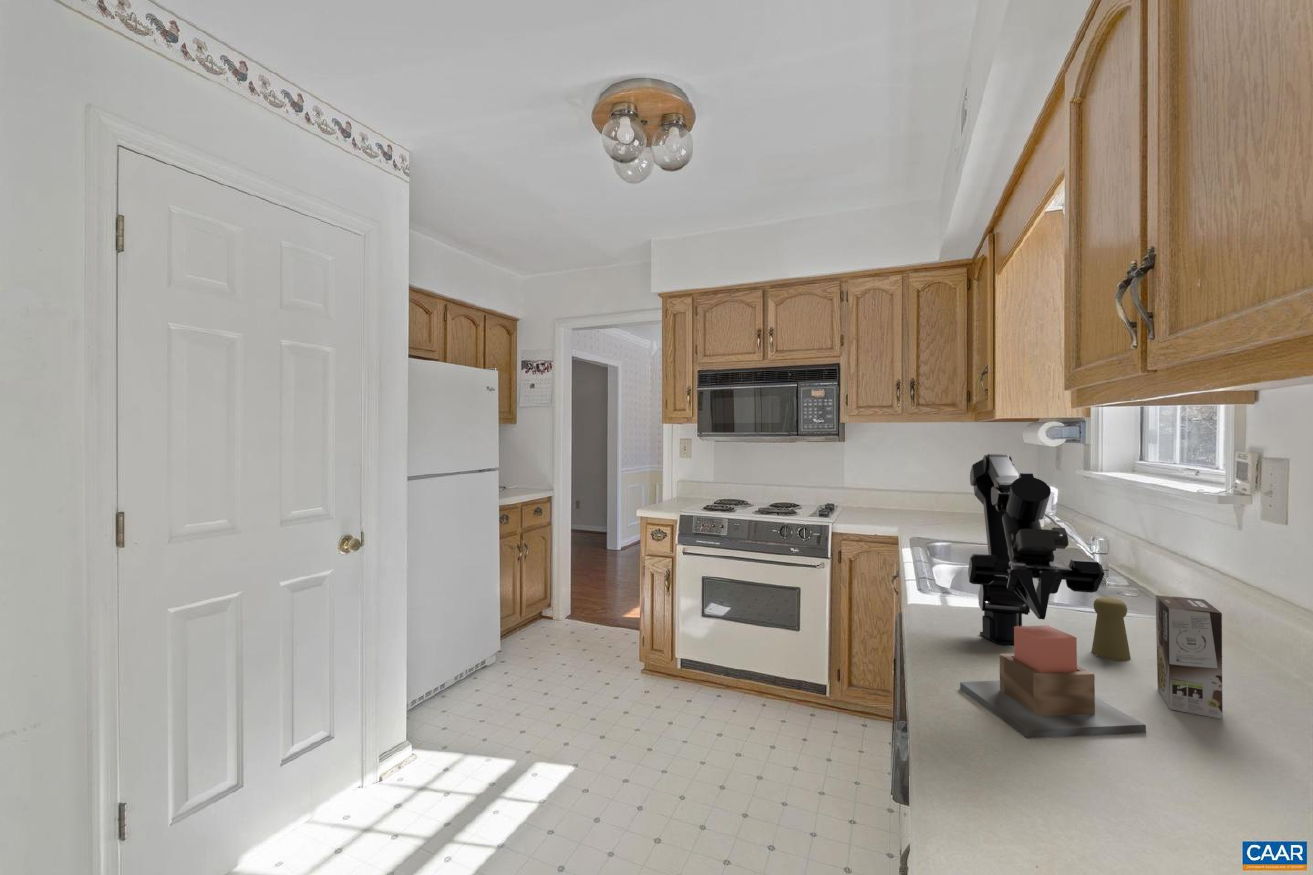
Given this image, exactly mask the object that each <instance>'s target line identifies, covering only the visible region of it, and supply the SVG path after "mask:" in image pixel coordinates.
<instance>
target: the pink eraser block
mask: <svg viewBox="0 0 1313 875" xmlns="http://www.w3.org/2000/svg"><path fill="white" fill-rule="evenodd" d="M1077 643H1078V642H1077V637H1076V636H1074V635H1071V634H1069V633H1067V632H1064V631H1062V630H1061V629H1058V628H1056V627H1053V626H1050V625H1048V624H1046V625H1045V624H1044V625H1022V626H1014V644H1013V647H1014V648H1013V649H1014V652H1013V653H1014V659H1016V660H1018V661H1020V662H1021V663H1023V664H1025V665H1027V666H1029V667H1030V668H1032V669H1034V670H1036V671H1038V672H1039V673H1051V672H1077V666H1078V656H1077V655H1078V654H1077V653H1078V651H1077V649H1078V648H1077V647H1078V646H1077Z"/></svg>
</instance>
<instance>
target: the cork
mask: <svg viewBox="0 0 1313 875" xmlns="http://www.w3.org/2000/svg"><path fill="white" fill-rule="evenodd" d="M1093 609H1094V612H1095V613H1096V620H1095V626H1094V631H1093V633H1094V634H1093V640H1092V647H1091V653H1092V655H1095V656H1096V657H1100V658H1103V659H1106V660H1111V661H1121V662H1127V661H1130V660H1131V658H1132V657H1131V652H1130V648H1129V646H1130V645H1129V642H1128V635H1127V631H1126V630H1127V629H1126V624H1125V619H1124V618H1125V617H1126V616H1127V615H1128V608H1127V604H1126V603H1125V602H1124V601H1122V600H1121V599H1117V598H1114V597H1107V596H1106V597H1105V596H1104V597H1102V596H1101V597H1098V598H1095V600H1094V601H1093Z"/></svg>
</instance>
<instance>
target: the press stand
mask: <svg viewBox="0 0 1313 875" xmlns="http://www.w3.org/2000/svg"><path fill="white" fill-rule="evenodd" d="M998 656H999V680H983V681H981V680H979V681H978V680H977V681H960V682H959V690H961V691H962V692H964V693H965V694H966V695H967V696H969V697H970V698H971V699H973V700H974V701H976V702H977V703H978V704H979V705H981V706H983V708H985V709H986V710H988V711H989V712H990V713H992V714H993V715H995V716H996V717H997V718H998V719H999V720H1001V721H1003V722H1004V723H1005V724H1007V725H1008V726H1010V727H1011V728H1012V729H1013V730H1015V731H1016V732H1017V733H1019V734H1020V735H1021V736H1023V737H1024V738H1026V739H1039V738H1040V739H1041V738H1042V739H1043V738H1045V739H1046V738H1061V737H1066V738H1067V737H1082V736H1083V737H1085V736H1086V737H1088V736H1089V737H1090V736H1105V735H1106V736H1109V735H1110V736H1111V735H1130V734H1131V735H1132V734H1133V735H1134V734H1146V733H1147V724H1146V723H1144V722H1141V721H1140V720H1139V719H1136V718H1134V717H1132V716H1131V715H1129V714H1127V713H1125V712H1123V711H1122V710H1120V709H1118V708H1117V707H1114V706H1112V705H1111V704H1109V703H1107V702H1105V701H1104V700H1101V699H1100V698H1098V697H1096V696H1095V695H1096V693H1095V686H1096V685H1095V682H1096V681H1095V673H1093V672H1092V671H1090V670H1087V669H1085V668H1083V667H1081V666H1079V665H1077V672H1051V673H1039V672H1038V671H1036V670H1034V669H1032V668H1030V667H1029V666H1027V665H1025V664H1023V663H1021V662H1020V661H1018V660H1016V659H1014V652H1013V653H999V655H998Z"/></svg>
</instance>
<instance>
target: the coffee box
mask: <svg viewBox="0 0 1313 875" xmlns="http://www.w3.org/2000/svg"><path fill="white" fill-rule="evenodd" d="M1155 625H1156V626H1155V628H1156V629H1155V630H1156V636H1155V637H1156V668H1157V670H1156V671H1157V672H1156V673H1157V680H1156V681H1157V690H1158V692H1159V693H1160V695H1161V697H1162V699H1163V700H1164V702H1165V704H1167V708H1168V709H1169V710H1172V711H1178V712H1183V713H1188V714H1193V715H1198V716H1203V717H1208V718H1209V717H1210V718H1213V719H1219V720H1221V719H1223V613H1222V612H1221V611H1220V610H1219V609H1217V608H1216V606H1215V607H1214V606H1213V605H1212V604H1211V603H1209V602H1208V601H1207V600H1205V599H1202V598H1197V597H1196V598H1193V597H1183V596H1168V595H1158V594H1156V595H1155Z"/></svg>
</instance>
